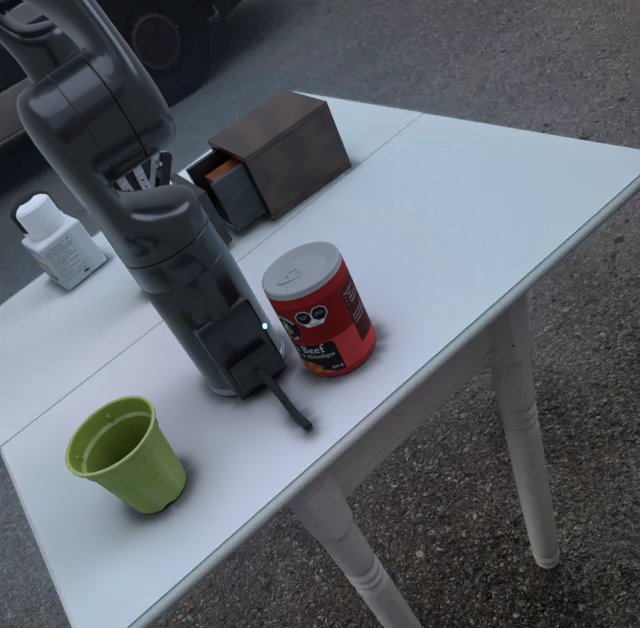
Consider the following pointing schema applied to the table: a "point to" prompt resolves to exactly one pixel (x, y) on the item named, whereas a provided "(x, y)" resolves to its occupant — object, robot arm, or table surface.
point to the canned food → (320, 308)
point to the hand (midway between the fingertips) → (165, 234)
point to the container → (56, 239)
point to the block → (222, 170)
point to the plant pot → (127, 454)
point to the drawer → (224, 193)
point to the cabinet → (286, 148)
